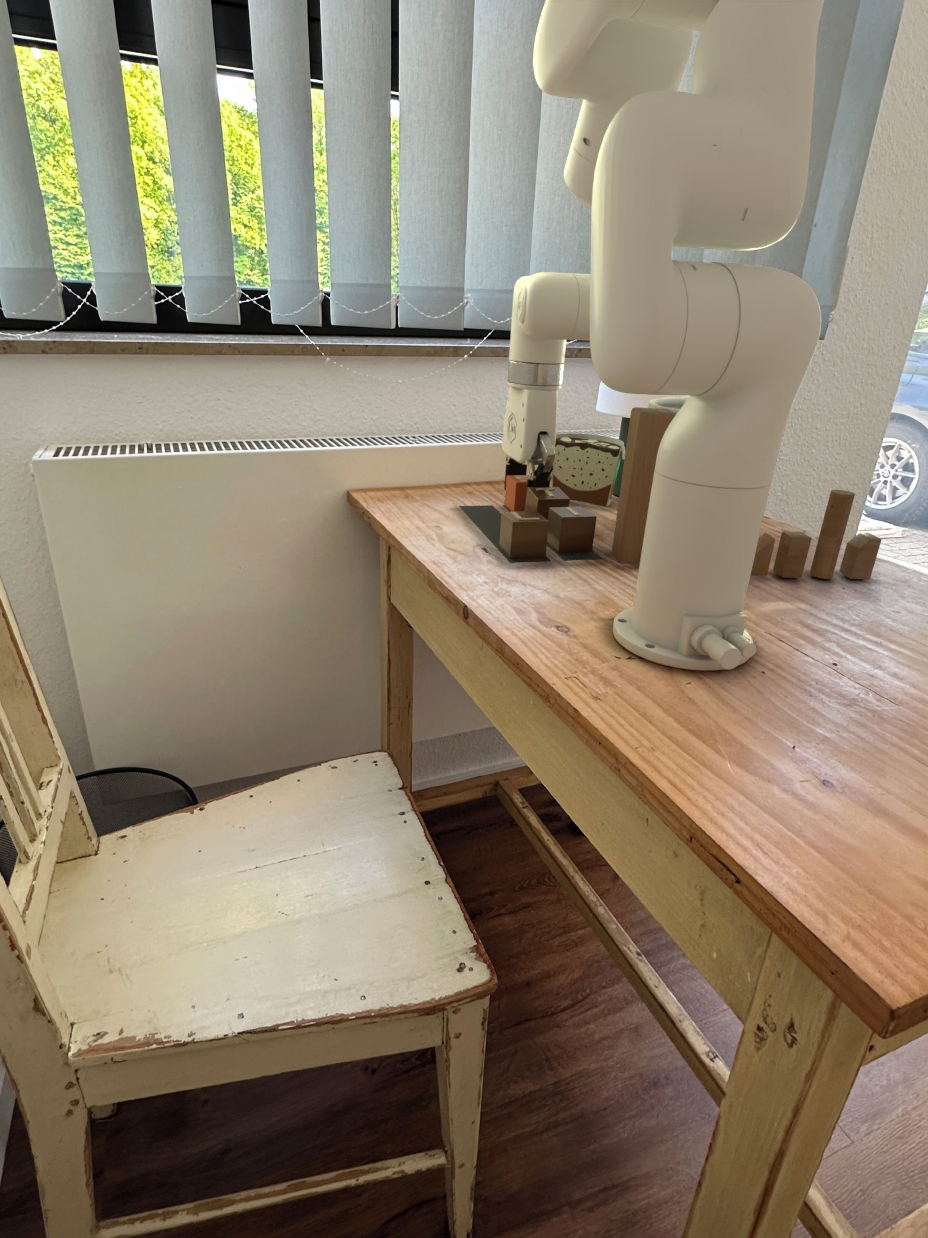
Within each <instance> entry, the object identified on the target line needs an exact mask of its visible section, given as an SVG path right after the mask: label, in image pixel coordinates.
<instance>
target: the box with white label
mask: <svg viewBox="0 0 928 1238" xmlns="http://www.w3.org/2000/svg"><path fill="white" fill-rule="evenodd" d="M500 513H501V527H500V541H499V547H500V548H501V550H502V551H503V552H504V553H505V554H506V555H507V556H508V557H509V558H510V559H518V558H544V557H546V556H547V555H546V554H547V547H548V546H547V537H548V527H549V521H548V520H547V519H546V518H544V517H543V516H542V515H541V514H539V513H538V512H537V511H513V512H509V511H501V512H500Z"/></svg>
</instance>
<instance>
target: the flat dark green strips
mask: <svg viewBox="0 0 928 1238" xmlns="http://www.w3.org/2000/svg"><path fill="white" fill-rule="evenodd" d="M458 507H459V508H460V510H461V511H462V512H463V513H464V514H465V515H466V516H467V517H468V518H469V519H470V520H471V522H472V523H473V524H474V526H476V527H477V529H479V530H480V532H481V533H482V534H483V535H484V536H485V537H486V538H487V539H488V540H489V542H490V543H491V544H492V545H493V546H494V547H495V548H496V549H497V550H498V551H499V553H500V554H501V555H502V556H503V557H504V558H505V559H506V561H508V563H510V564H520V563H543V562H544V563H545V562H546V563H548V562H552V559H550V557H548V556H547V555H546V557H544V558H518V559H510V558H509V557H508V556H507V555H506V554H505V553H504V552H503V551H502V550H501V548H500V547H499V541H500V527H501V513H502V512H501V511H499V510H498V509H497V508H496V507H495V506H494V505H492V504H491V505H490V504H488V505H487V504H486V505H459V506H458ZM502 507H503V508H504V509H505V510H506V511H507V512H512V511H511V510H509V509H508V508H507V507H506V506H505V504H502ZM547 547H548V548H549V549H550V550H551V551H552V552H553V553H554V554H556V555H557V557H559V558H560V559H561V560H562V561H564V562H572V561H574V562H575V561H594V560H595V561H598V560H604V558H603V556H601V555H600V554H598V553H597V552H596V551H595V550H594V549H592V552H567V553H558V552H557V551H556V550H555V549H554V548H552V547H551V546H550V545H549V544H548V543H547Z"/></svg>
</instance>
